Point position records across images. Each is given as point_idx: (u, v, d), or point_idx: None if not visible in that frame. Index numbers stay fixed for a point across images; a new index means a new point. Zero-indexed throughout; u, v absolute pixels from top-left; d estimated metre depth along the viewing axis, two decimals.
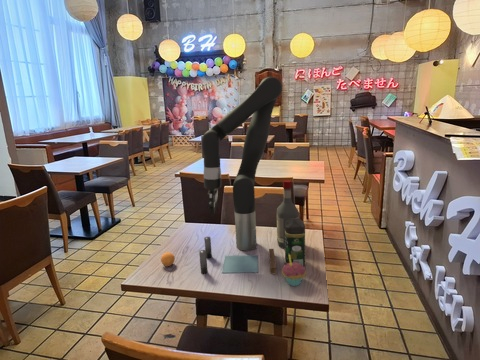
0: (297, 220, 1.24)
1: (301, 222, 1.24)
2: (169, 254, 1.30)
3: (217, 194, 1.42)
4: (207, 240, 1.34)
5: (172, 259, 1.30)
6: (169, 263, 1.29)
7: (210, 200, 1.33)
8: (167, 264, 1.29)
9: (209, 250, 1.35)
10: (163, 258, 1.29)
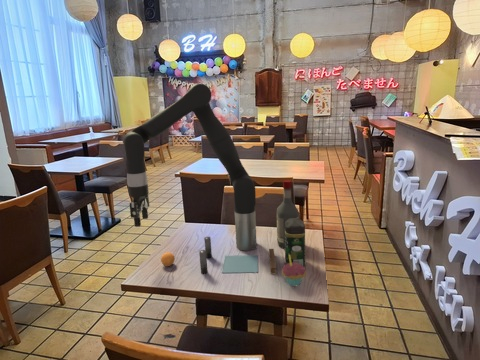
0: (297, 220, 1.24)
1: (301, 222, 1.24)
2: (169, 254, 1.30)
3: (146, 202, 1.29)
4: (207, 240, 1.34)
5: (172, 259, 1.30)
6: (169, 263, 1.29)
7: (132, 210, 1.20)
8: (167, 264, 1.29)
9: (209, 250, 1.35)
10: (163, 258, 1.29)
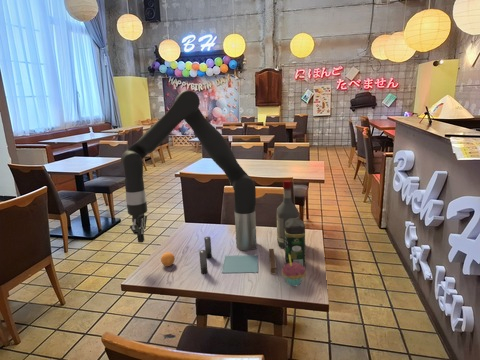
0: (297, 220, 1.24)
1: (301, 222, 1.24)
2: (169, 254, 1.30)
3: (144, 222, 1.29)
4: (207, 240, 1.34)
5: (172, 259, 1.30)
6: (169, 263, 1.29)
7: (134, 231, 1.24)
8: (167, 264, 1.29)
9: (209, 250, 1.35)
10: (163, 258, 1.29)
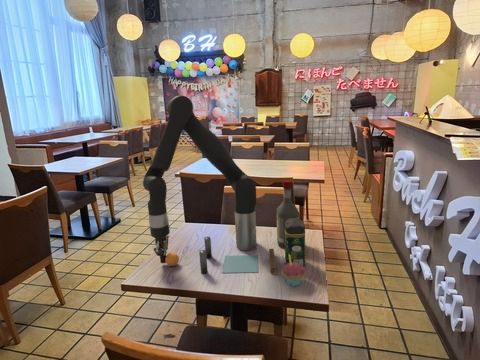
0: (297, 220, 1.24)
1: (301, 222, 1.24)
2: (176, 256, 1.30)
3: (166, 243, 1.31)
4: (207, 240, 1.34)
5: (177, 262, 1.30)
6: (172, 264, 1.29)
7: (158, 253, 1.26)
8: (170, 264, 1.29)
9: (209, 250, 1.35)
10: (169, 257, 1.28)
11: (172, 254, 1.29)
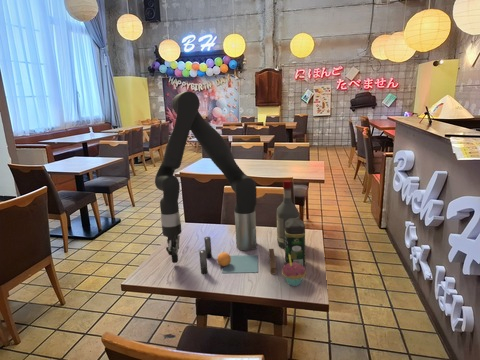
0: (297, 220, 1.24)
1: (301, 222, 1.24)
2: (228, 264, 1.29)
3: (178, 242, 1.30)
4: (207, 240, 1.34)
5: None
6: (220, 264, 1.27)
7: (170, 252, 1.25)
8: (220, 262, 1.26)
9: (209, 250, 1.35)
10: (227, 261, 1.26)
11: (230, 261, 1.28)
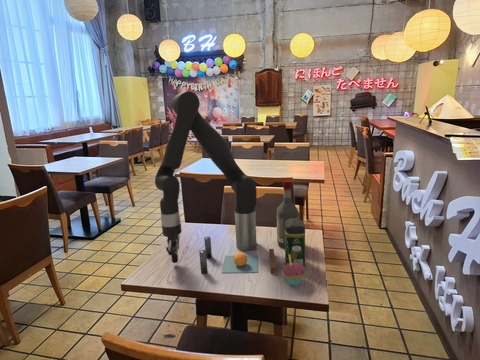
0: (297, 220, 1.24)
1: (301, 222, 1.24)
2: None
3: (178, 242, 1.30)
4: (207, 240, 1.34)
5: (236, 255, 1.27)
6: (240, 258, 1.25)
7: (170, 252, 1.25)
8: (241, 260, 1.25)
9: (209, 250, 1.35)
10: (237, 265, 1.26)
11: (235, 263, 1.28)
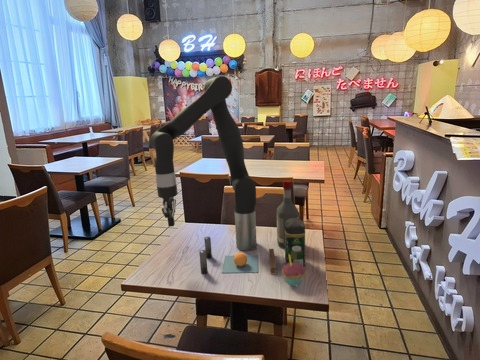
0: (297, 220, 1.24)
1: (301, 222, 1.24)
2: None
3: (174, 205, 1.26)
4: (207, 240, 1.34)
5: (236, 255, 1.27)
6: (240, 258, 1.25)
7: (166, 214, 1.21)
8: (241, 260, 1.25)
9: (209, 250, 1.35)
10: (237, 265, 1.26)
11: (235, 263, 1.28)
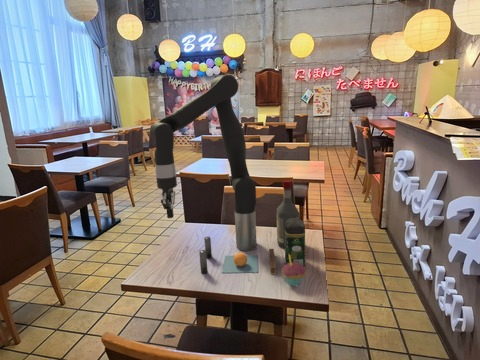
0: (297, 220, 1.24)
1: (301, 222, 1.24)
2: None
3: (173, 197, 1.26)
4: (207, 240, 1.34)
5: (236, 255, 1.27)
6: (240, 258, 1.25)
7: (165, 205, 1.20)
8: (241, 260, 1.25)
9: (209, 250, 1.35)
10: (237, 265, 1.26)
11: (235, 263, 1.28)
